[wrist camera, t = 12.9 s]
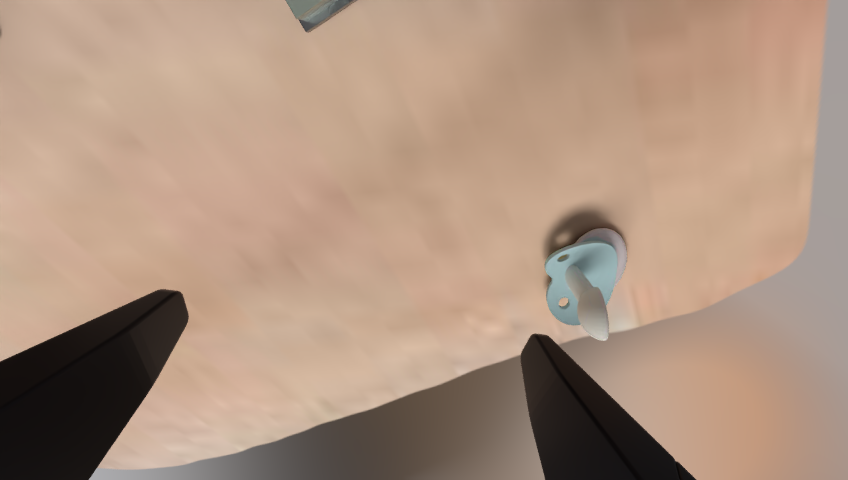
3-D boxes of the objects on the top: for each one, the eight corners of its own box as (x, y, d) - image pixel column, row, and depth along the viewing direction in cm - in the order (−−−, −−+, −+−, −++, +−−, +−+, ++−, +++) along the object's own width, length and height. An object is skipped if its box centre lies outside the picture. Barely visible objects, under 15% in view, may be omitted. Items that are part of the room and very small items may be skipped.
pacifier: (625, 211, 20) (535, 233, 21) (703, 267, 15) (581, 295, 16) (617, 290, 24) (541, 308, 25) (677, 358, 19) (579, 378, 19)
